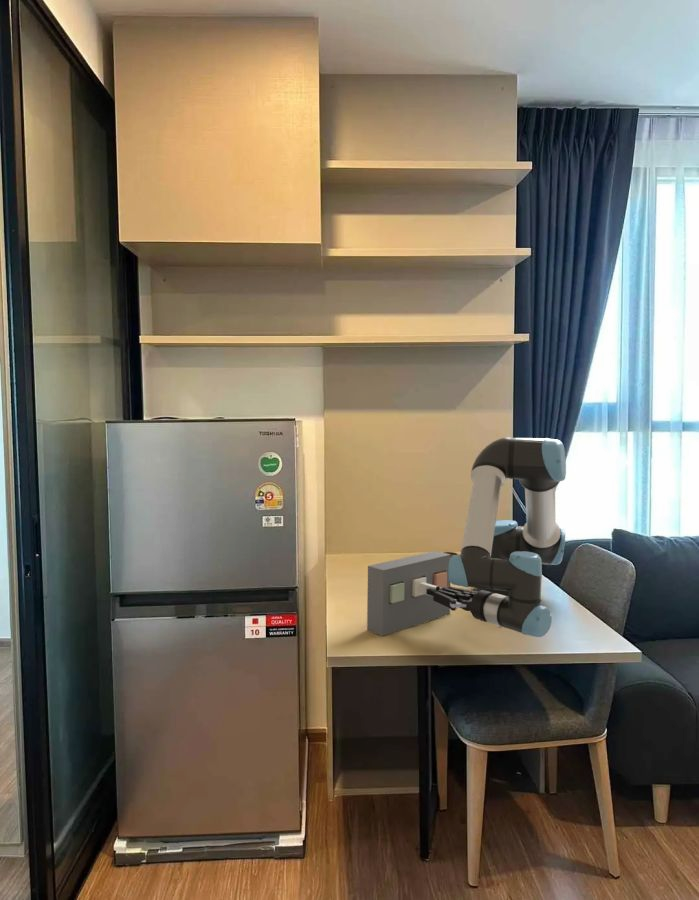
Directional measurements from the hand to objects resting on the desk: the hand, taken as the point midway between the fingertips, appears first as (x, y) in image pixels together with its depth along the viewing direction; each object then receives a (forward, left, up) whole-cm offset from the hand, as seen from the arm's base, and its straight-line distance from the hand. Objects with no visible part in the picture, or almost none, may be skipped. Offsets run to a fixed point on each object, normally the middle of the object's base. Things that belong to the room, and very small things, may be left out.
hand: (421, 587), depth 185 cm
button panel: (-1, -3, -11) cm, 11 cm away
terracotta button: (-9, +1, -2) cm, 10 cm away
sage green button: (+7, -7, -2) cm, 10 cm away
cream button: (-1, -3, -2) cm, 4 cm away
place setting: (-72, -7, -12) cm, 73 cm away
